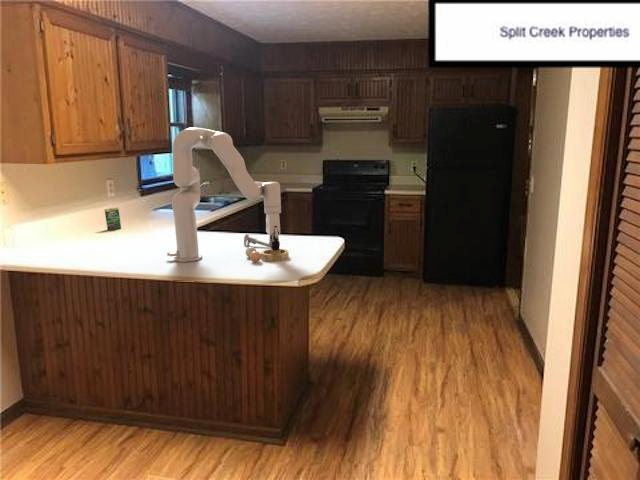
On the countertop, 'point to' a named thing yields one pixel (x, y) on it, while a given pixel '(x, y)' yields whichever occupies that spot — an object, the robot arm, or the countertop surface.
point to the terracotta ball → (255, 256)
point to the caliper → (253, 241)
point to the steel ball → (271, 243)
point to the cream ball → (250, 251)
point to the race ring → (274, 255)
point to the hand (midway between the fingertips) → (274, 248)
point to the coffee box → (112, 218)
